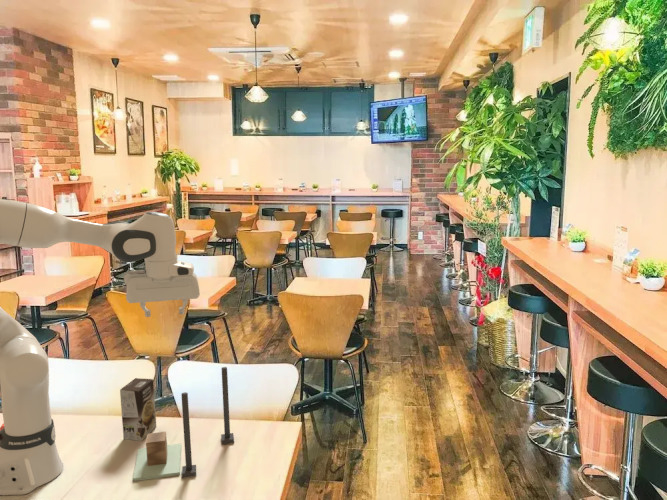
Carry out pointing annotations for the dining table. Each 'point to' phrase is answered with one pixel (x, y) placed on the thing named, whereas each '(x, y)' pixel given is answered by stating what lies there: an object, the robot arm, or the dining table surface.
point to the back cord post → (226, 410)
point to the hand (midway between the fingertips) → (165, 314)
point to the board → (161, 470)
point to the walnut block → (156, 448)
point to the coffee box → (138, 409)
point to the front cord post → (187, 440)
